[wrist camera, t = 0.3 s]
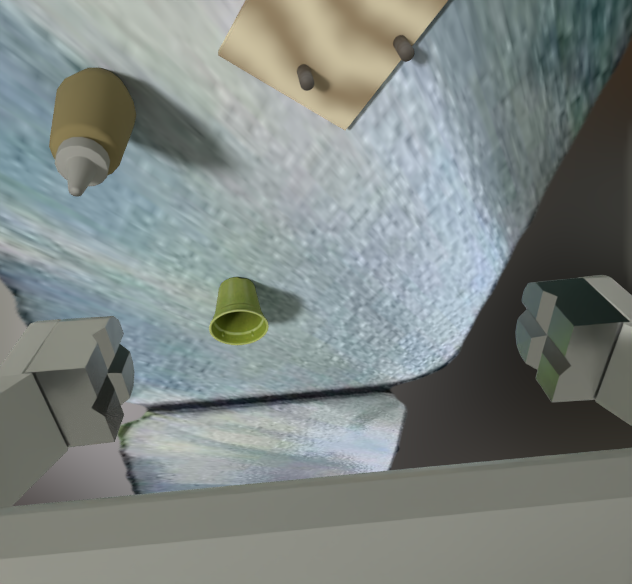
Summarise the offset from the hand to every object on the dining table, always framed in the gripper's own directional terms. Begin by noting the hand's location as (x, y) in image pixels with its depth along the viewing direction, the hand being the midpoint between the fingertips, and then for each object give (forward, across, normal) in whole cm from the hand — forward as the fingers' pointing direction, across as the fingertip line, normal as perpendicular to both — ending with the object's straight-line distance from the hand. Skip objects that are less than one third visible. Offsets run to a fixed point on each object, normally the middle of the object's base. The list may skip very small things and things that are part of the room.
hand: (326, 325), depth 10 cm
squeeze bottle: (+53, +21, +4) cm, 57 cm away
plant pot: (+64, +11, +38) cm, 76 cm away
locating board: (+52, -7, -4) cm, 53 cm away
